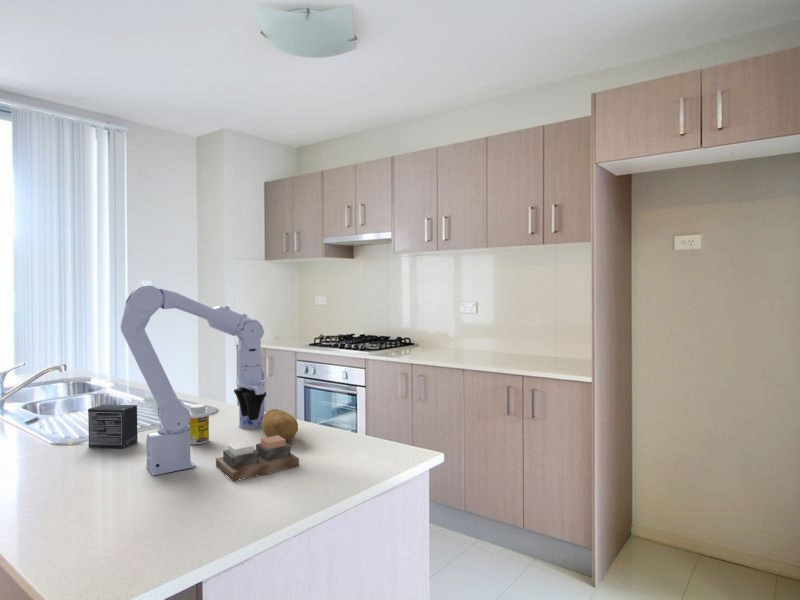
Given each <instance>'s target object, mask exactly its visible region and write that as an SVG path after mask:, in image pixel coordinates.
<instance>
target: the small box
mask: <svg viewBox="0 0 800 600" xmlns="http://www.w3.org/2000/svg"><path fill="white" fill-rule="evenodd" d="M87 414H88V448H99V449H100V448H101V449H102V448H105V449H125V448H127V447H129V446H131V445H133V444H135V443H137V442H138V405H137V404H136V405H135V404H100V405H97V406H93V407H90V408H88V409H87Z"/></svg>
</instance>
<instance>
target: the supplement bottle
mask: <svg viewBox="0 0 800 600" xmlns="http://www.w3.org/2000/svg"><path fill="white" fill-rule="evenodd" d="M189 408H190V409H189V412H190V415H191V419H190V422H189V424H188V425H190V445H203V444H206V443H208V442H209V439H210V426H209V425H210V422H209V421H210V420H209V419H210V413H209V412H208V411H207V407H206V404H205V403H204V404H202V403H201V404H200V403H198V404H192V405H191V406H190V407H189Z"/></svg>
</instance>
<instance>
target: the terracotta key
mask: <svg viewBox="0 0 800 600" xmlns="http://www.w3.org/2000/svg"><path fill="white" fill-rule="evenodd" d="M260 443H261V446H262V447H264V448H265V449H267V450H269V449H274V448H278V447H283V446H286V443H287V441H286V440H285V439H284V438H282V437H280V436H279V435H276V436H271V437H267V436H265V437H262V438H260Z"/></svg>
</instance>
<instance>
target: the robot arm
mask: <svg viewBox="0 0 800 600" xmlns="http://www.w3.org/2000/svg"><path fill="white" fill-rule="evenodd" d="M159 309H162V310H169V309H177V310H180V311H183V312H185V313H187V314H190V315H194V316H196V317H198V318H202V319H204V320H206V321H207V323H208V326H209V327H210V328H212V329H215V330H217V331H220V332H223V333H225V334H228V335H231V336H233V337H235V336H236V337H237V338H238V339H237V340H238V346H237V378H236V380H235V381H236V382H235V384H236V387H238V388H235V389H234V390H233V392H234V394H235V396H236V398H237V400H238V405H239V404H240V408H241V413H242V416H248V417H249V420H256V419H258V417H259V412H260V408H261V405H262V402H263V400H264V401H265V398H266V396H267V392H266V391H265V384H266V380H265V379H264V380H261V369H262V345H261V344H262V343H261V340H262V338H263V337H264V335H265V329H264V328H263V325H262V324H261V323H260V321H258V320H256V319H252V318H250V317H248V314H245V313H242V314H240V313H238V312H236V311H233V310H231V307H230V306H228V305H223V306H222V305H217V306H215V307H209V306H207V305H205V304H203V303H202V302H198V301H196V300H194V299H191V298H190V297H187V296H185V295H182V294H180V293H179V292H176V291H172V290H167V289H163V288H157V287H156V286H154V285H150V284H149V285H148V284H147V285H145V284H143V285H138V286H137V287H135V288H133V290H132V291H131V293H130V294H129V296H127V298H126V300H125V304H124V310H123V314H122V318H121V323H120V331H121V333H122V335H123V337H124V339H125V342H126V343H127V345H128V347H129V349H130V351H131V354H132V356H133V357H134V359H135V362H136V364H137V366H138V369H139V370H140V372H141V374H142V376H143V379H144V381H145V382H146V384H147V386H148V389H149V390H150V392H151V395H152V396H153V399H154V400H155V403H156V405H157V417H158V419H159V420H160V421H161V423H160V424H159V426H158V427H157V429H156V431H155V432H151V433H148V434H147V435H146V465H145V466H146V468H147V469H148V471H149V472H150V474H151V475H152V476H158V475H162V474H167V473H172V472H177V471H181V470H186V469H191V468H196V467H197V465H196V464H195V463H194V461H193V460H192V459H191V444H190V425H188V424H189V422H190V419H191V415H190V409H188V408H187V407H186V405H185V404H184V402H183V401H182V400H181V399H179V397H178V396H177V394H176V392H175V390H174V389H173V385H172V384H171V381H170V380H169V378H168V376H167V373H166V371H165V370H164V367H163V365H162V363H161V361H160V359H159V356H158V354H157V353H156V351H155V348H154V346H153V344H152V342H151V341H150V338H149V336H148V333H147V331H146V327H147V326H148V324H149V321H150V320H151V317H152V316H153V315H155V313H156V312H157V311H158V310H159ZM263 384H264V386H263ZM239 387H240V388H239Z"/></svg>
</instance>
